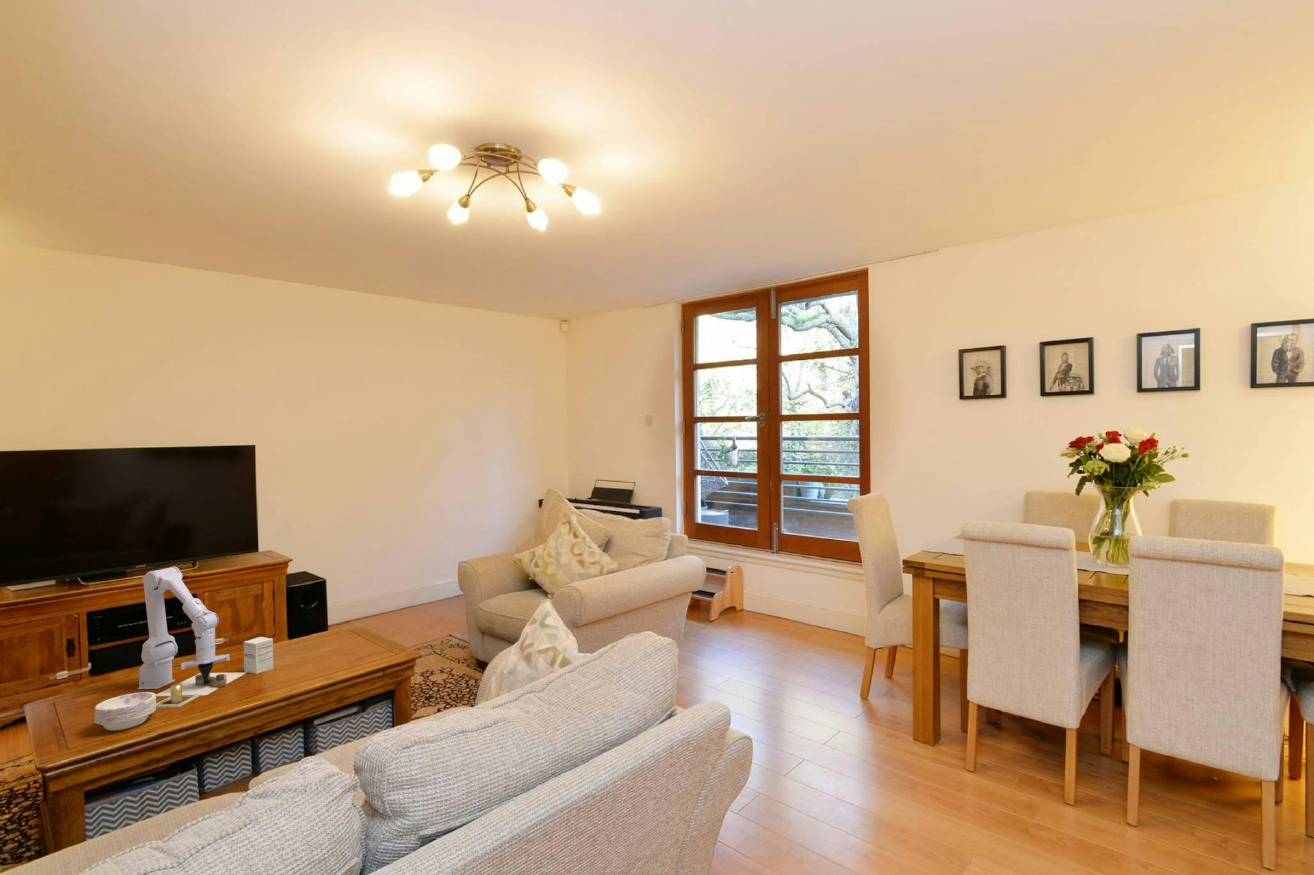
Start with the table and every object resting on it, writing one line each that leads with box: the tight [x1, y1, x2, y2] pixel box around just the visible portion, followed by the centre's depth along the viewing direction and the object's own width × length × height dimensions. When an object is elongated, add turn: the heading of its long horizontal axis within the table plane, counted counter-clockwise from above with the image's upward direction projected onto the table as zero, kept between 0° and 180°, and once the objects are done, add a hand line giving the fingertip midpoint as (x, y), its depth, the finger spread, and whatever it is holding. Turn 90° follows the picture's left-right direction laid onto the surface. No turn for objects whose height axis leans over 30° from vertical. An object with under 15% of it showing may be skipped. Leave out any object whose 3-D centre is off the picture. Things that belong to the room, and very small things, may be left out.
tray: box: [156, 694, 200, 709], centre depth 217 cm, size 9×9×2 cm
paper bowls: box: [94, 691, 157, 732], centre depth 201 cm, size 15×15×8 cm
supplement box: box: [243, 636, 274, 675], centre depth 247 cm, size 7×7×13 cm
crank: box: [194, 672, 227, 688], centre depth 232 cm, size 13×4×4 cm, turn 69°
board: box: [156, 671, 248, 697], centre depth 233 cm, size 19×22×1 cm
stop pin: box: [169, 683, 184, 705], centre depth 217 cm, size 3×3×6 cm
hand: (205, 684), depth 230 cm, fingers closed, pressing on crank
